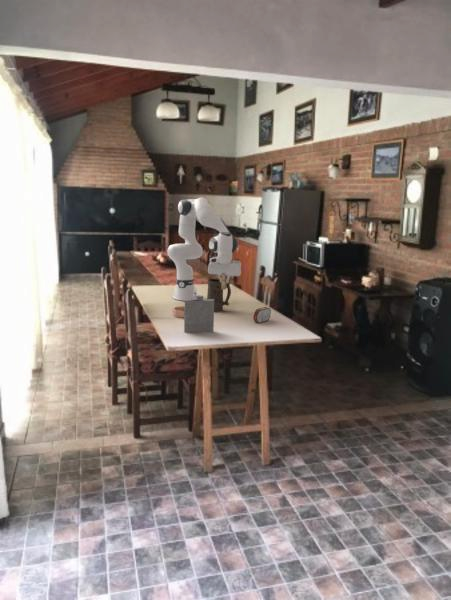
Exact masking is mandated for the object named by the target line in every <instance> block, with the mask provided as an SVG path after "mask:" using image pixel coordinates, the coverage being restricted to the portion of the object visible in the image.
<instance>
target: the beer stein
mask: <svg viewBox="0 0 451 600" xmlns="http://www.w3.org/2000/svg"><path fill="white" fill-rule="evenodd" d="M230 285H231V284H230V282H228V283H226V290H227V293H226V294H227V295H226V298H225V300H224V290H222V289H221V282H220V279H219V278H218V279H216V278H209V279H207V295H206V296H207V297H206V299H214V313H218V312H219V313H220V312H223V311H224V309H223V307H224V306H227V307H228V306H229V304H230V303H229V300H230V297H231V294H232V291H231V290H232V289H231V287H230Z"/></svg>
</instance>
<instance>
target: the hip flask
mask: <svg viewBox="0 0 451 600" xmlns="http://www.w3.org/2000/svg"><path fill="white" fill-rule="evenodd" d="M184 306H185V315H184V318H183V320H184V324H183V327H184V328H183V333H187V334H189V333H190V334H194V333H195V334H199V333H200V334H201V333H204V332H206V333H214V325H215V324H214V323H215V322H214V321H215V317H214V316H215V312H214V299H207V298H206V299H205V298H204V295H202V294H198V295H197V299H190V300H185V301H184Z"/></svg>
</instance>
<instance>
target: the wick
mask: <svg viewBox="0 0 451 600" xmlns="http://www.w3.org/2000/svg"><path fill="white" fill-rule="evenodd" d="M227 278H228V277H227V275H225V273H222V275H221V279H222V282H221V289H222V290H223V291H225V290H227V287H226V284H227V283H225V280H226V279H227Z"/></svg>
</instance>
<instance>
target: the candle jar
mask: <svg viewBox="0 0 451 600" xmlns="http://www.w3.org/2000/svg"><path fill="white" fill-rule="evenodd" d="M171 312H172V315H173V316H174V317H176V318H182V319H184V315H185V305H183V306H181V305H180V306H175V307H173V308H172V310H171Z"/></svg>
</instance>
